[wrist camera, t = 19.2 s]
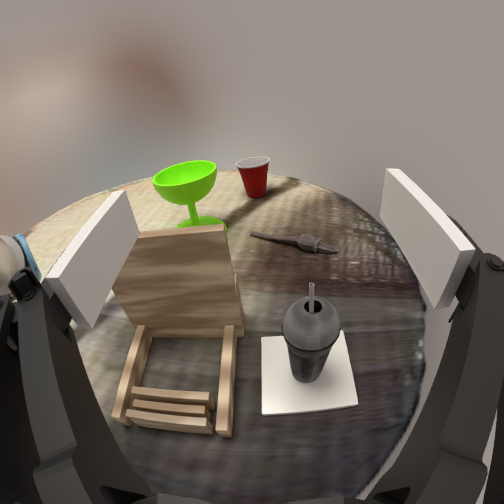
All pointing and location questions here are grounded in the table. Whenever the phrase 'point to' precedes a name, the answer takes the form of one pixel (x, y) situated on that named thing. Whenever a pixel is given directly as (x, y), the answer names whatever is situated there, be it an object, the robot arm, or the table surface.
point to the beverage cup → (310, 335)
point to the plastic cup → (254, 175)
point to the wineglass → (188, 188)
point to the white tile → (305, 394)
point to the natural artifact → (300, 242)
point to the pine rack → (180, 305)
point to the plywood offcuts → (172, 410)
